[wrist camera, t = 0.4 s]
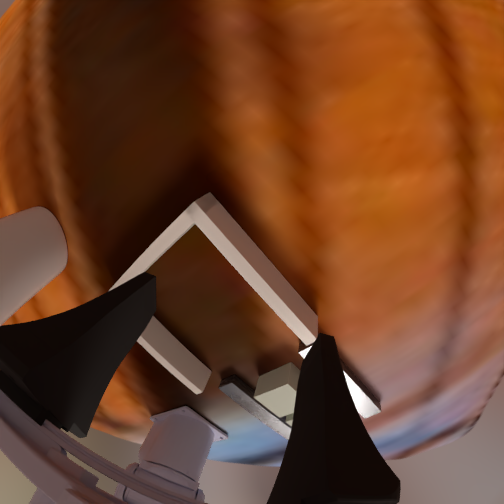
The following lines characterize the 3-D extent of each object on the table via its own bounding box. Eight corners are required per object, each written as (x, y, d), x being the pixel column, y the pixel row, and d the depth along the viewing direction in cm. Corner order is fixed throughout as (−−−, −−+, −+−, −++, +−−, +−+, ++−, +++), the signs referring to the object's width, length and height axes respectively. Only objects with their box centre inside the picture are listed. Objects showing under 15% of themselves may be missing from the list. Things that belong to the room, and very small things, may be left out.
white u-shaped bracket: (205, 374, 28) (196, 394, 25) (116, 286, 26) (99, 301, 23) (317, 316, 23) (317, 340, 20) (210, 192, 20) (194, 201, 18)
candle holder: (71, 293, 28) (3, 352, 17) (24, 254, 28) (-41, 297, 17) (77, 221, 24) (-18, 274, 13) (26, 186, 24) (-56, 220, 13)
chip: (283, 395, 28) (279, 417, 25) (259, 375, 27) (253, 397, 24) (314, 383, 26) (313, 405, 23) (291, 360, 25) (287, 383, 23)
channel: (293, 435, 30) (292, 442, 29) (221, 380, 28) (218, 387, 27) (380, 403, 26) (381, 411, 24) (317, 333, 23) (317, 342, 22)
